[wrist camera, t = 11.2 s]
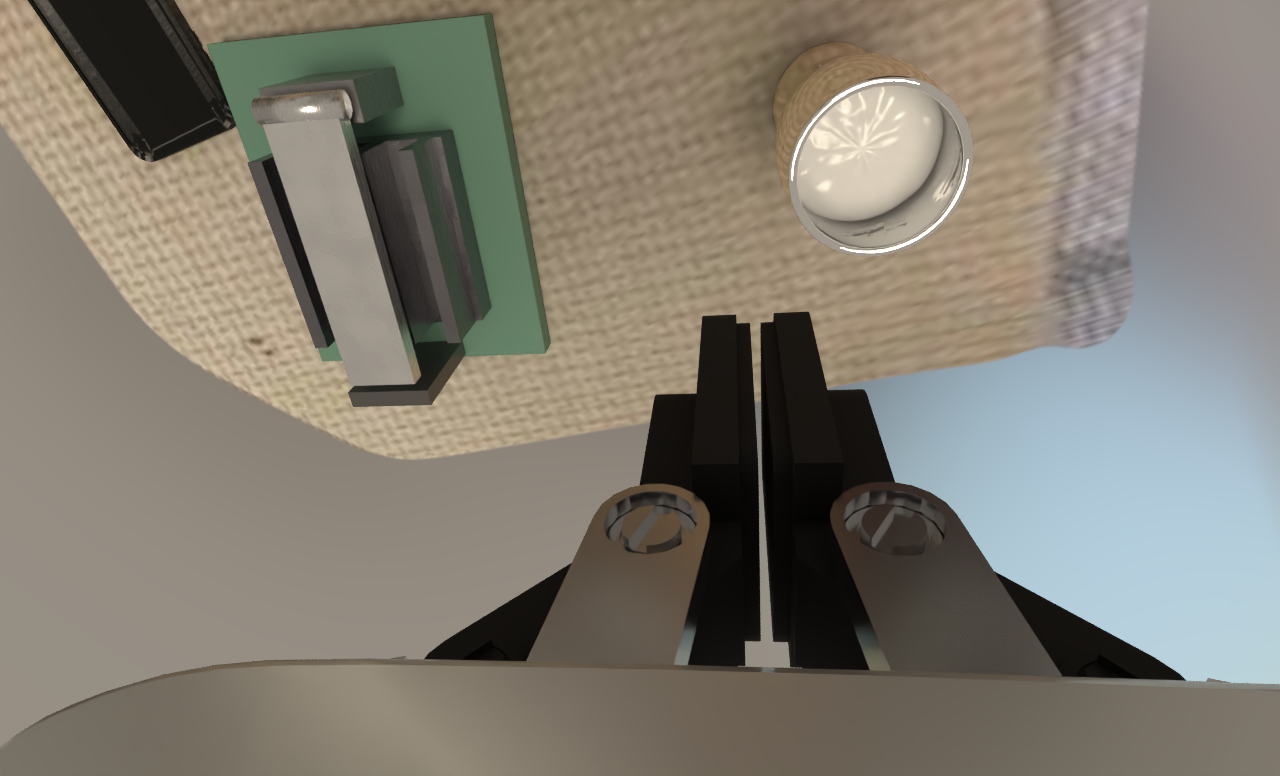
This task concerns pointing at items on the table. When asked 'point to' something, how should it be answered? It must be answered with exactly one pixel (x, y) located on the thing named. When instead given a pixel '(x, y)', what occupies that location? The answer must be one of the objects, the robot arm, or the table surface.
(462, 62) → the heat sink board
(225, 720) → the robot arm
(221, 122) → the phone
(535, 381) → the table surface
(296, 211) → the clamp bar
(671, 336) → the table surface
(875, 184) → the beer glass
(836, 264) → the table surface
